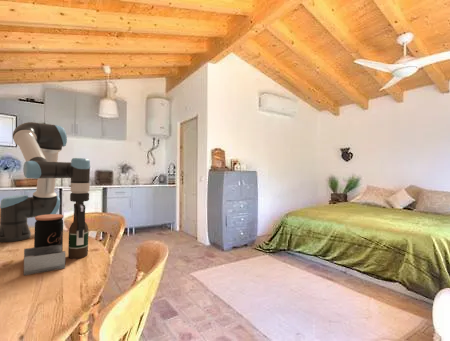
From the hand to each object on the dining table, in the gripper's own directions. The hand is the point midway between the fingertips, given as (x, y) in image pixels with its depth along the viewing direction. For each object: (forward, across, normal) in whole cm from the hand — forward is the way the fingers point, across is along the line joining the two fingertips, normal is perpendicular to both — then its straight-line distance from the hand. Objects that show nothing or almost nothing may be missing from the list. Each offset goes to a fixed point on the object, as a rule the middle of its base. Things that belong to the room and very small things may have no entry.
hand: (78, 242), depth 118 cm
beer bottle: (+6, 0, 0) cm, 6 cm away
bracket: (+6, +6, -13) cm, 16 cm away
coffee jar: (+6, -7, -11) cm, 14 cm away
